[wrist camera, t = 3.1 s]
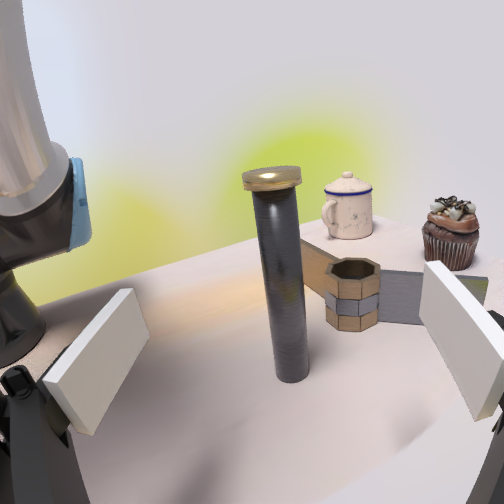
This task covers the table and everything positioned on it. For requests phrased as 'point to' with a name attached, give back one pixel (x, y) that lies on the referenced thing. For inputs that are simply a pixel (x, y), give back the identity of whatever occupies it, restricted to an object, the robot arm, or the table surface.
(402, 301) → the hinge leaf
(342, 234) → the teacup with lid
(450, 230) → the cupcake
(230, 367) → the table surface
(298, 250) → the hinge pin
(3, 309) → the robot arm
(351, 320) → the tan flat knuckled part
